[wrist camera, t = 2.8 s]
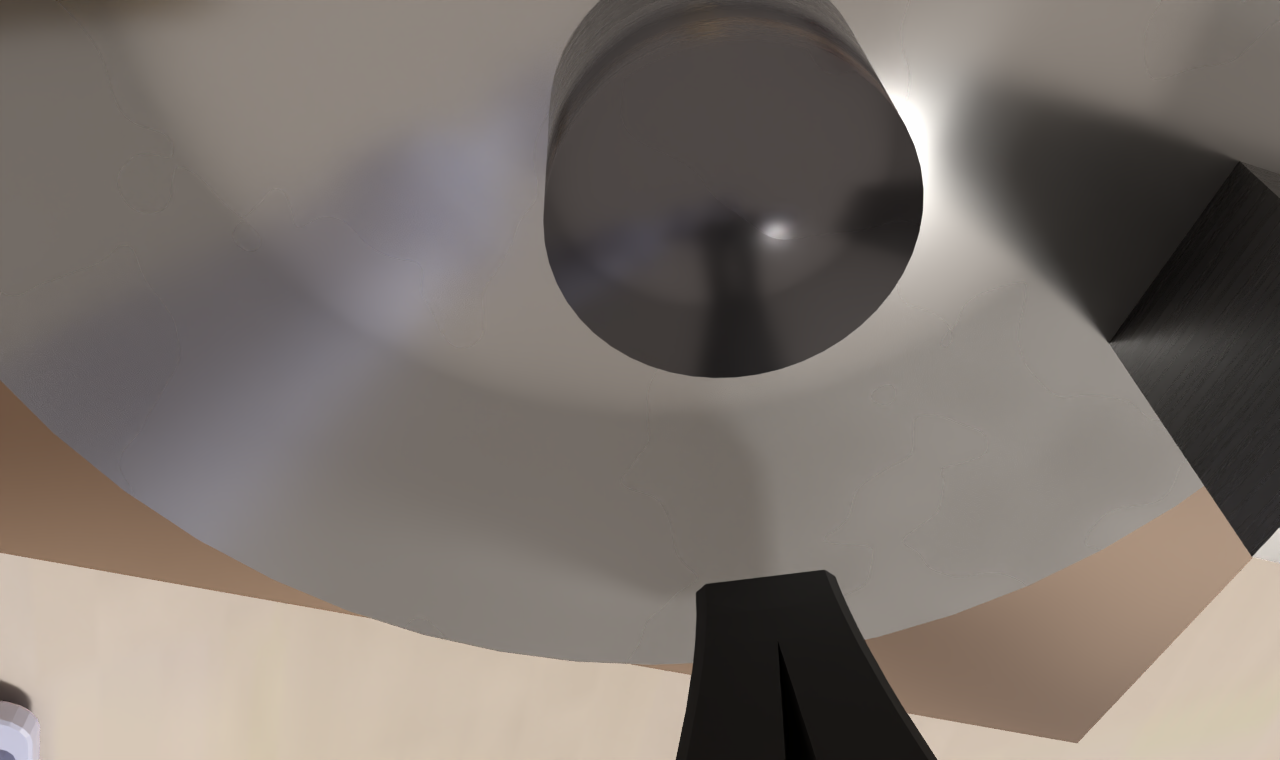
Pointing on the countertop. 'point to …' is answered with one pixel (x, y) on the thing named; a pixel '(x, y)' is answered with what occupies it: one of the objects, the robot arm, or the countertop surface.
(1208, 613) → the countertop surface
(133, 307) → the silver round platter
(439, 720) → the countertop surface
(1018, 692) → the base plate
